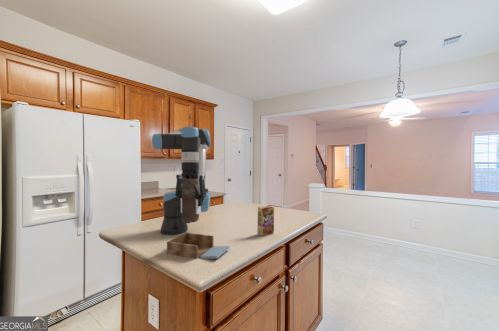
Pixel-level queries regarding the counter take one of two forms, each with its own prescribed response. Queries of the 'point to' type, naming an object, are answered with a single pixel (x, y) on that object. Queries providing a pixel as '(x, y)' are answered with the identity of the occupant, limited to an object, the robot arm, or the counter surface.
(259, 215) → the candy box
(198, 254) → the box
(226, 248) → the panel
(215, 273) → the counter surface
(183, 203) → the candle
